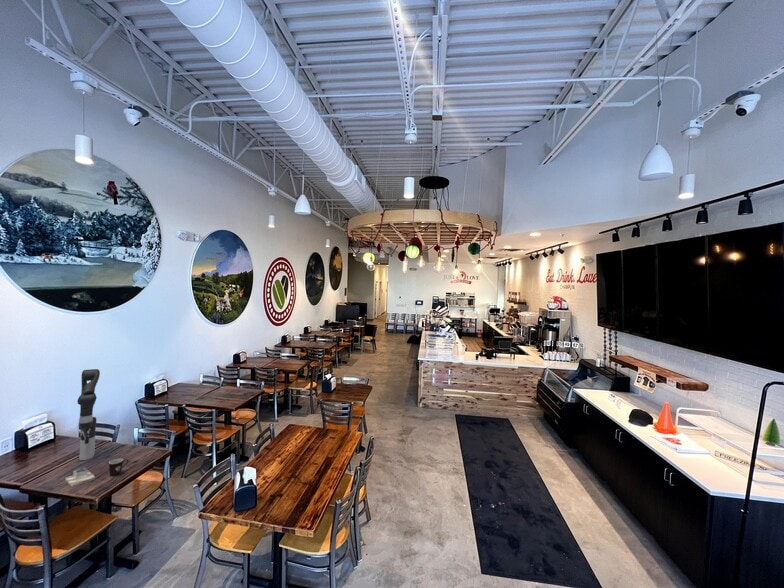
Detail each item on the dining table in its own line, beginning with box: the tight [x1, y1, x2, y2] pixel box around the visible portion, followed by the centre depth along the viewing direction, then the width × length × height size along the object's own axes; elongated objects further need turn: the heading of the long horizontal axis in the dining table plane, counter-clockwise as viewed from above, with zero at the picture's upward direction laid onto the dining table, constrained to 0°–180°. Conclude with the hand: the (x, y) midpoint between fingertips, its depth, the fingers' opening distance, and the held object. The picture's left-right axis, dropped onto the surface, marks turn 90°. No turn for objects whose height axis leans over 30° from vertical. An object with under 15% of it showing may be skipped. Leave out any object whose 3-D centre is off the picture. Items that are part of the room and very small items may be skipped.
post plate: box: [64, 469, 96, 488], centre depth 243 cm, size 16×13×6 cm
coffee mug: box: [108, 458, 129, 478], centre depth 252 cm, size 12×9×10 cm
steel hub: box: [72, 467, 89, 481], centre depth 243 cm, size 6×6×5 cm
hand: (84, 441), depth 250 cm, fingers open, 8 cm apart
